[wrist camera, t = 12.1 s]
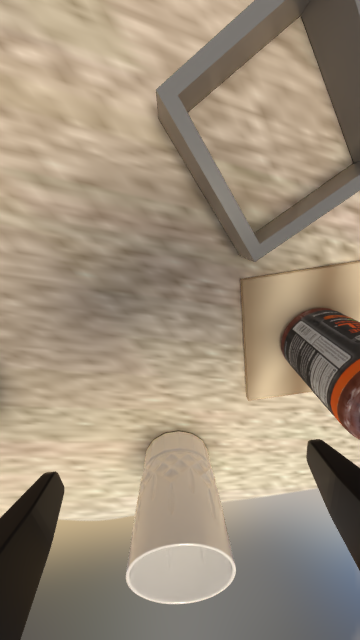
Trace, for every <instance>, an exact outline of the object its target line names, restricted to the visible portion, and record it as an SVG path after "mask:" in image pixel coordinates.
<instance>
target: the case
mask: <svg viewBox="0 0 360 640" xmlns="http://www.w3.org/2000/svg"><path fill="white" fill-rule="evenodd" d="M300 15H301V17H302V20H303V23H304V25H305V28H306V31H307V34H308V37H309V39H310V42H311V45H312V48H313V51H314V53H315V56H316V59H317V62H318V65H319V67H320V70H321V73H322V76H323V78H324V81H325V84H326V87H327V90H328V92H329V95H330V98H331V101H332V104H333V106H334V109H335V112H336V115H337V118H338V120H339V123H340V126H341V129H342V132H343V134H344V137H345V140H346V143H347V146H348V148H349V151H350V154H351V157H352V160H353V162H354V163H353V164H352V165H350V166H349V167H348V168H346V169H345V170H343V171H342V172H341V173H339V174H338V175H336V176H335V177H333V178H332V179H331V180H329V181H328V182H326V183H325V184H324V185H322V186H321V187H319V188H318V189H316V190H315V191H314V192H312V193H311V194H309V195H308V196H307V197H305V198H304V199H302V200H301V201H300V202H298V203H297V204H295V205H294V206H292V207H291V208H290V209H288V210H287V211H285V212H284V213H283V214H281V215H280V216H278V217H277V218H275V219H274V220H273V221H271V222H270V223H268V224H267V225H266V226H264V227H263V228H261V229H260V230H258V231H257V232H256V233H253V231H252V229H251V227H250V225H249V223H248V222H247V220H246V218H245V216H244V214H243V213H242V211H241V209H240V207H239V205H238V204H237V202H236V200H235V198H234V196H233V194H232V193H231V191H230V189H229V187H228V185H227V184H226V182H225V180H224V178H223V176H222V175H221V173H220V171H219V169H218V167H217V165H216V164H215V162H214V160H213V158H212V156H211V155H210V153H209V151H208V149H207V147H206V145H205V144H204V142H203V140H202V138H201V136H200V135H199V133H198V131H197V129H196V127H195V126H194V124H193V122H192V120H191V118H190V116H189V115H188V113H187V112H189V111H190V110H191V109H192V108H193V107H194V106H196V105H197V104H198V103H199V102H200V101H201V100H203V99H204V98H205V97H206V96H207V95H208V94H210V93H211V92H212V91H213V90H214V89H215V88H217V87H218V86H219V85H220V84H221V83H222V82H224V81H225V80H226V79H227V78H228V77H229V76H231V75H232V74H233V73H234V72H235V71H236V70H238V69H239V68H240V67H241V66H242V65H243V64H244V63H246V62H247V61H248V60H249V59H250V58H251V57H253V56H254V55H255V54H256V53H257V52H258V51H260V50H261V49H262V48H263V47H264V46H265V45H267V44H268V43H269V42H270V41H271V40H272V39H274V38H275V37H276V36H277V35H278V34H279V33H281V32H282V31H283V30H284V29H285V28H286V27H288V26H289V25H290V24H291V23H292V22H293V21H295V20H296V19H297V18H298V17H299V16H300ZM156 97H157V108H158V118H159V120H160V122H161V124H162V125H163V127H164V129H165V130H166V132H167V134H168V135H169V137H170V139H171V140H172V142H173V144H174V145H175V147H176V149H177V150H178V152H179V154H180V156H181V157H182V159H183V161H184V162H185V164H186V166H187V167H188V169H189V171H190V172H191V174H192V176H193V177H194V179H195V181H196V182H197V184H198V186H199V188H200V189H201V191H202V193H203V194H204V196H205V198H206V199H207V201H208V203H209V204H210V206H211V208H212V209H213V211H214V213H215V215H216V216H217V218H218V220H219V221H220V223H221V225H222V226H223V228H224V230H225V231H226V233H227V235H228V236H229V238H230V240H231V241H232V243H233V245H234V247H235V248H236V250H237V252H238V253H239V255H240V256H242V257H244V258H247V259H249V260H251V261H254V262H256V261H257V260H258V259H260V258H261V257H263V256H264V255H266V254H267V253H269V252H270V251H272V250H273V249H275V248H276V247H277V246H279V245H280V244H282V243H283V242H285V241H286V240H288V239H289V238H291V237H292V236H294V235H295V234H297V233H298V232H299V231H301V230H302V229H304V228H305V227H307V226H308V225H310V224H311V223H313V222H314V221H316V220H317V219H319V218H320V217H321V216H323V215H324V214H326V213H327V212H329V211H330V210H332V209H333V208H335V207H336V206H338V205H339V204H341V203H342V202H343V201H345V200H346V199H348V198H349V197H351V196H352V195H354V194H355V193H357V192H358V191H360V0H255V1H254V2H252V3H251V4H250V5H249V6H248V7H247V8H246V9H245V10H244V11H242V12H241V13H240V14H239V15H238V16H237V17H236V18H235V19H234V20H233V21H231V22H230V23H229V24H228V25H227V26H226V27H225V28H224V29H223V30H221V31H220V32H219V33H218V34H217V35H216V36H215V37H214V38H213V39H211V40H210V41H209V42H208V43H207V44H206V45H205V46H204V47H203V48H202V49H200V50H199V51H198V52H197V53H196V54H195V55H194V56H193V57H192V58H190V59H189V60H188V61H187V62H186V63H185V64H184V65H183V66H182V67H181V68H179V69H178V70H177V71H176V72H175V73H174V74H173V75H172V76H171V77H169V78H168V79H167V80H166V81H165V82H164V83H163V84H162V85H161V86H159V87H158V88H157V89H156Z"/></svg>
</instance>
